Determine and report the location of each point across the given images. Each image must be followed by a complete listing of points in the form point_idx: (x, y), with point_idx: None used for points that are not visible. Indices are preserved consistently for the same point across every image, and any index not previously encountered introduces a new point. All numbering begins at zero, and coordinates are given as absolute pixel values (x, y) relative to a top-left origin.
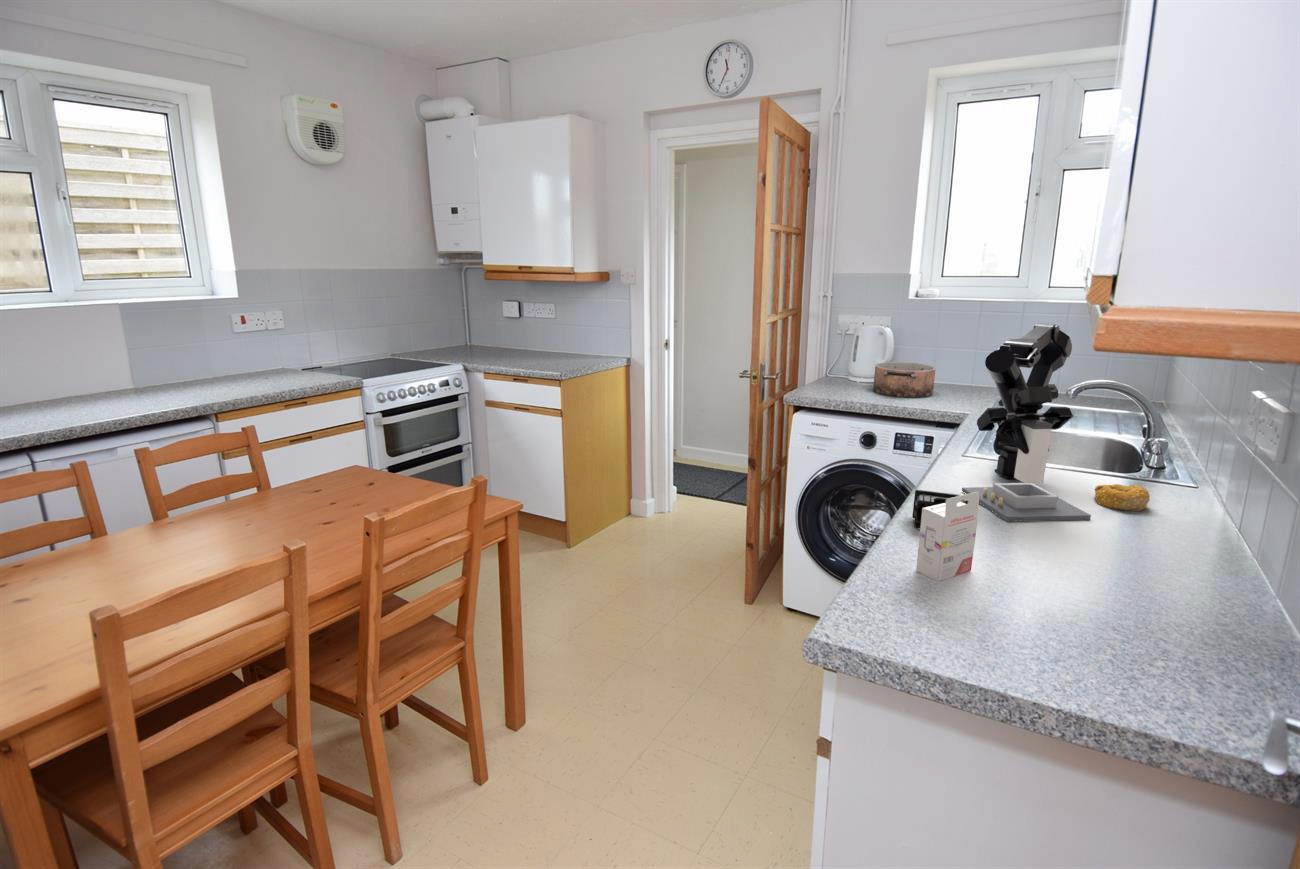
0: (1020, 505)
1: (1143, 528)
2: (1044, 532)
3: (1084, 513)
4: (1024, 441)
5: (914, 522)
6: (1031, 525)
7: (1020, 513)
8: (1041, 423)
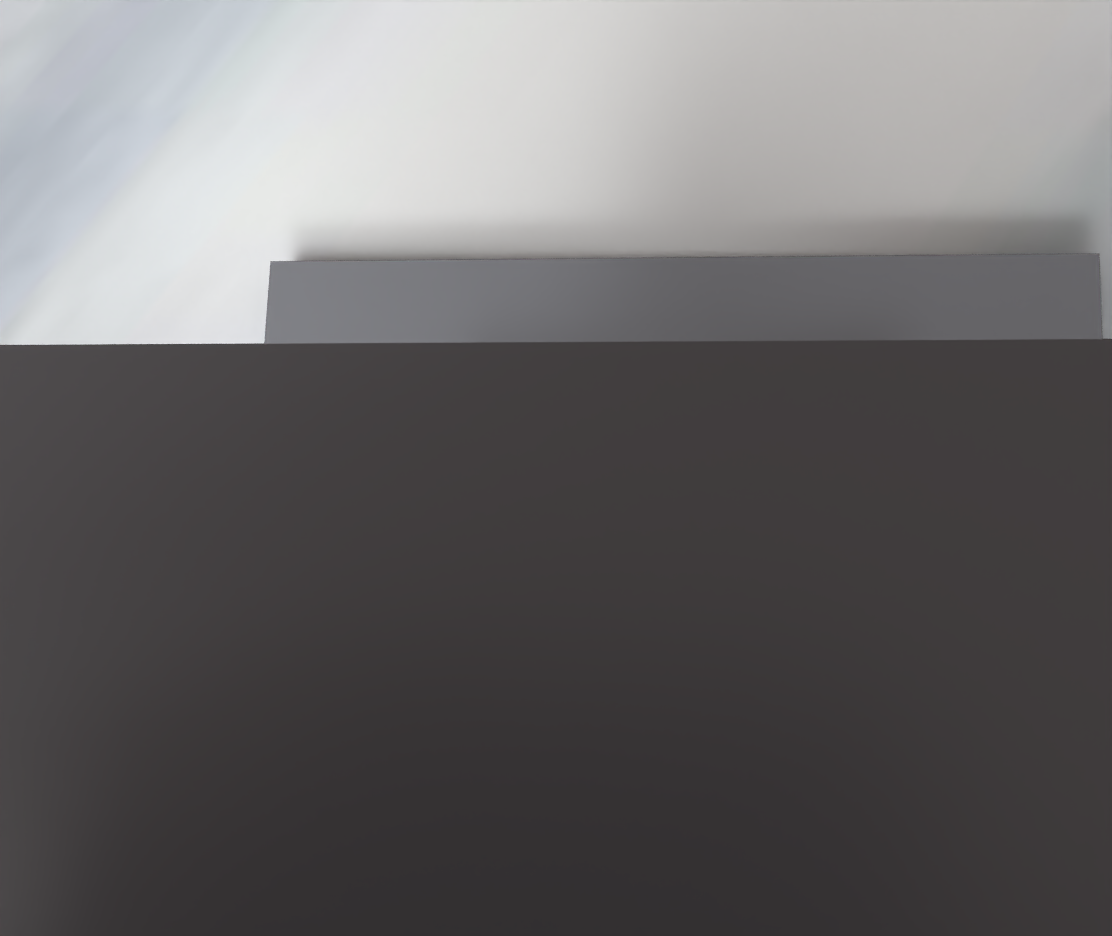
0: None
1: (19, 96)
2: (870, 30)
3: (295, 304)
4: None
5: None
6: (889, 178)
7: (906, 332)
8: (377, 637)
